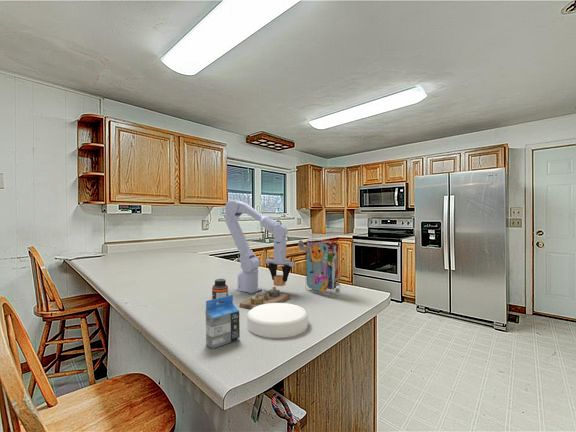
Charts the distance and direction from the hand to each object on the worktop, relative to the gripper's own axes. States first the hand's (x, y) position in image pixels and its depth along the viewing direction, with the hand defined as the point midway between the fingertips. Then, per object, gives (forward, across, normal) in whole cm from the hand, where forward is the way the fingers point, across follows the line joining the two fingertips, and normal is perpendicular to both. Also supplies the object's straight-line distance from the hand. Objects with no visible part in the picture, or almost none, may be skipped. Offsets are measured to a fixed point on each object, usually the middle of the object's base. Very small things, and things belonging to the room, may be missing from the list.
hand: (279, 280), depth 132 cm
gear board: (+6, -3, +15) cm, 16 cm away
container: (+6, -20, +32) cm, 38 cm away
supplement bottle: (+6, +7, +31) cm, 32 cm away
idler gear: (+2, 0, 0) cm, 2 cm away
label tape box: (+6, -14, +51) cm, 53 cm away
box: (+6, -13, -11) cm, 18 cm away
